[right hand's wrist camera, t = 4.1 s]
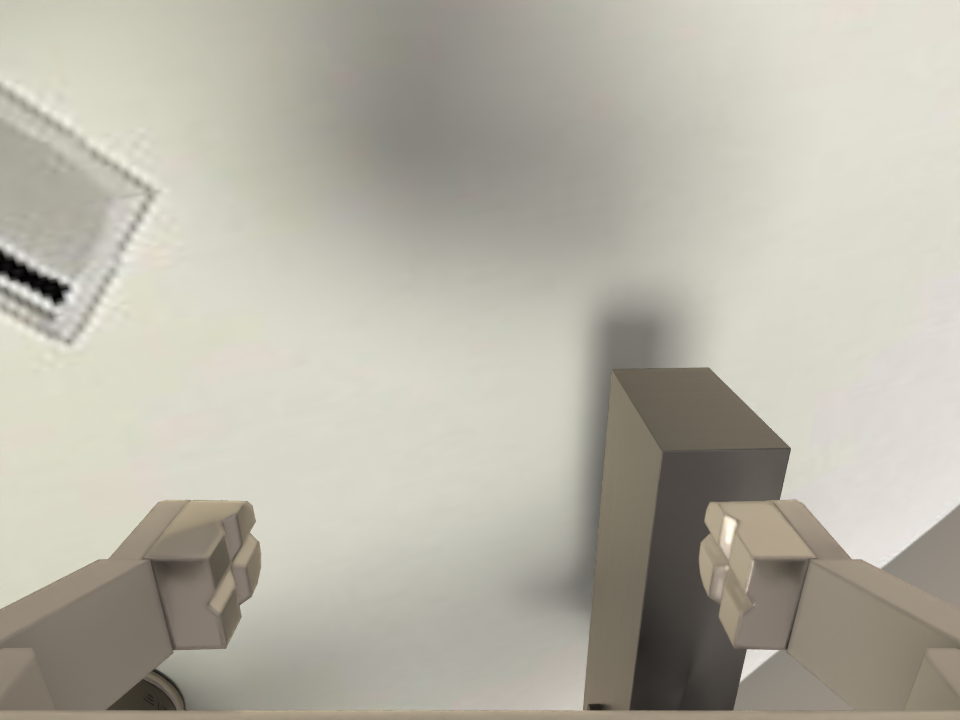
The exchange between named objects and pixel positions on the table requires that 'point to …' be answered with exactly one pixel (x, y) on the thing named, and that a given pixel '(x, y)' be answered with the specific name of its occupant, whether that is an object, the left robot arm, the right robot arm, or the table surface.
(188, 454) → the table surface
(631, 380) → the bar
